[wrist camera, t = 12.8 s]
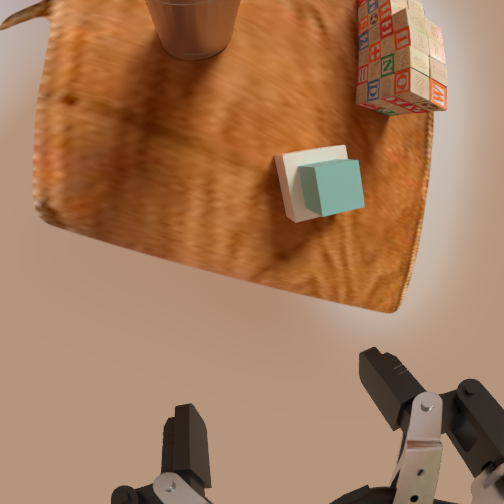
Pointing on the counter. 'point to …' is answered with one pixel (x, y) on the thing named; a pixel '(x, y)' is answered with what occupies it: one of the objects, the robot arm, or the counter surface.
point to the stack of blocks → (399, 59)
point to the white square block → (292, 180)
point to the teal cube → (332, 186)
